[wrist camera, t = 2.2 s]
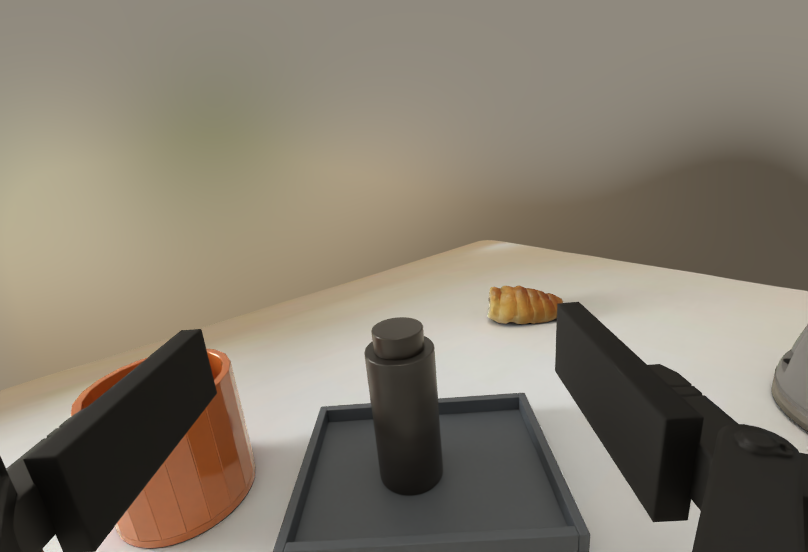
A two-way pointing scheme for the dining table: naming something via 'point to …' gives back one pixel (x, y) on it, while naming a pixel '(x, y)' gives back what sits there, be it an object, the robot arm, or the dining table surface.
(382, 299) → the dining table surface
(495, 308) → the pastry
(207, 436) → the pot
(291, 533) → the tray
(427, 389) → the pepper mill
